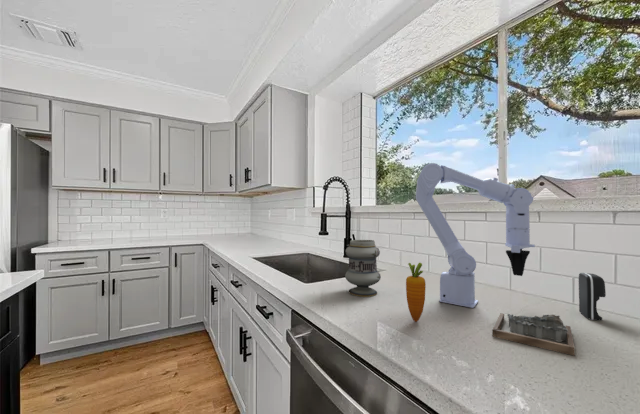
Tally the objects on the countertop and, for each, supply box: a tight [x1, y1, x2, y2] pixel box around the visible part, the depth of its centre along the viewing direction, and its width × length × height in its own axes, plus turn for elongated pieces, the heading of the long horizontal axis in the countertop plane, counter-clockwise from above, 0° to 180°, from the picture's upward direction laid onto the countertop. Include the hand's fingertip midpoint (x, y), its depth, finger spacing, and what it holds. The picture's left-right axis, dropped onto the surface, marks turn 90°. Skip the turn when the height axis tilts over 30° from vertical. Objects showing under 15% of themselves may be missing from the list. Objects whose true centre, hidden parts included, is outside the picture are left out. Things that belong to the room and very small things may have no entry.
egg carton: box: [507, 313, 568, 343], centre depth 65 cm, size 11×8×4 cm
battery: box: [578, 272, 607, 321], centre depth 76 cm, size 7×4×11 cm, turn 153°
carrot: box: [405, 262, 426, 323], centre depth 71 cm, size 5×5×15 cm
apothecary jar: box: [344, 239, 381, 298], centre depth 98 cm, size 12×12×18 cm
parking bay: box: [491, 312, 576, 357], centre depth 64 cm, size 14×14×2 cm
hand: (518, 275), depth 84 cm, fingers closed
